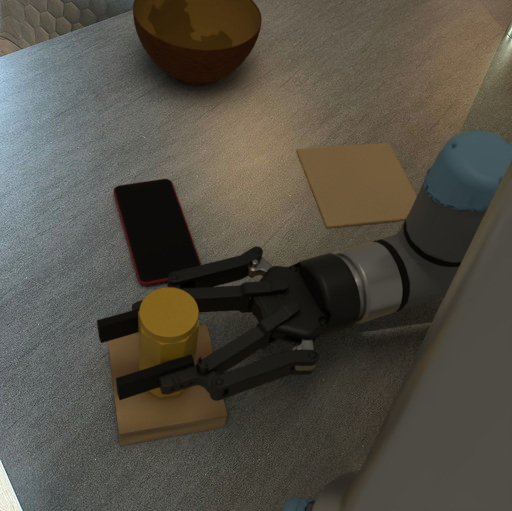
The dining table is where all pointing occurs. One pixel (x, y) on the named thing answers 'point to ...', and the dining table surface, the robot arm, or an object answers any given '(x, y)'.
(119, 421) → the stand
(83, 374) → the dining table surface
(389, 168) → the mat
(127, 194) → the smartphone
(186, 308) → the jar
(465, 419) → the robot arm
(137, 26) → the bowl
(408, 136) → the dining table surface
